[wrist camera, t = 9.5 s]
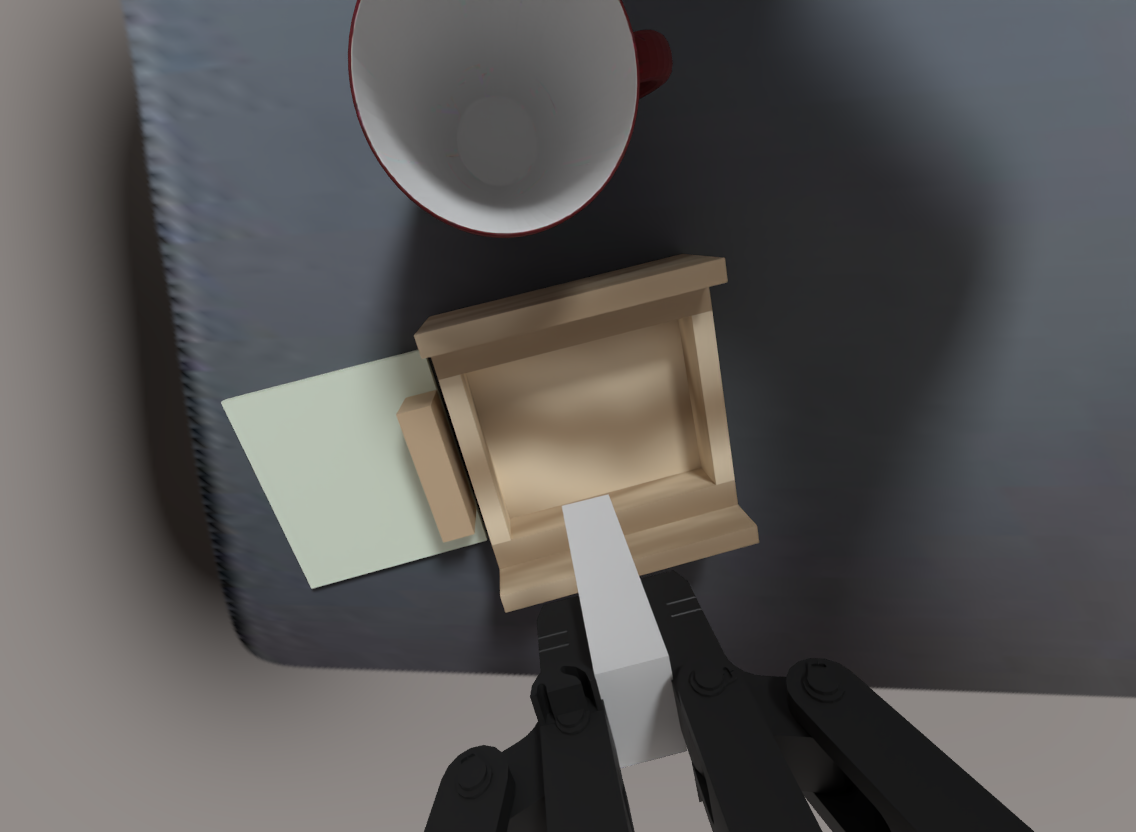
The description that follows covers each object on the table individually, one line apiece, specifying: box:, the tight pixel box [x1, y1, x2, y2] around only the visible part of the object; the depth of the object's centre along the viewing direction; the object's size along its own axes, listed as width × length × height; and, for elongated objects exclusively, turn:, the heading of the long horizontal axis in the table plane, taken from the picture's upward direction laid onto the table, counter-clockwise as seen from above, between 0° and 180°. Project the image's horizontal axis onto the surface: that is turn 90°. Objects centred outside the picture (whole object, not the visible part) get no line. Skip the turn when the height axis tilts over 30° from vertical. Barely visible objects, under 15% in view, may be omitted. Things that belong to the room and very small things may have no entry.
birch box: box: [414, 254, 759, 613], centre depth 26 cm, size 14×13×5 cm
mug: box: [348, 0, 673, 238], centre depth 19 cm, size 10×8×10 cm
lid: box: [221, 350, 487, 589], centre depth 27 cm, size 11×10×4 cm
